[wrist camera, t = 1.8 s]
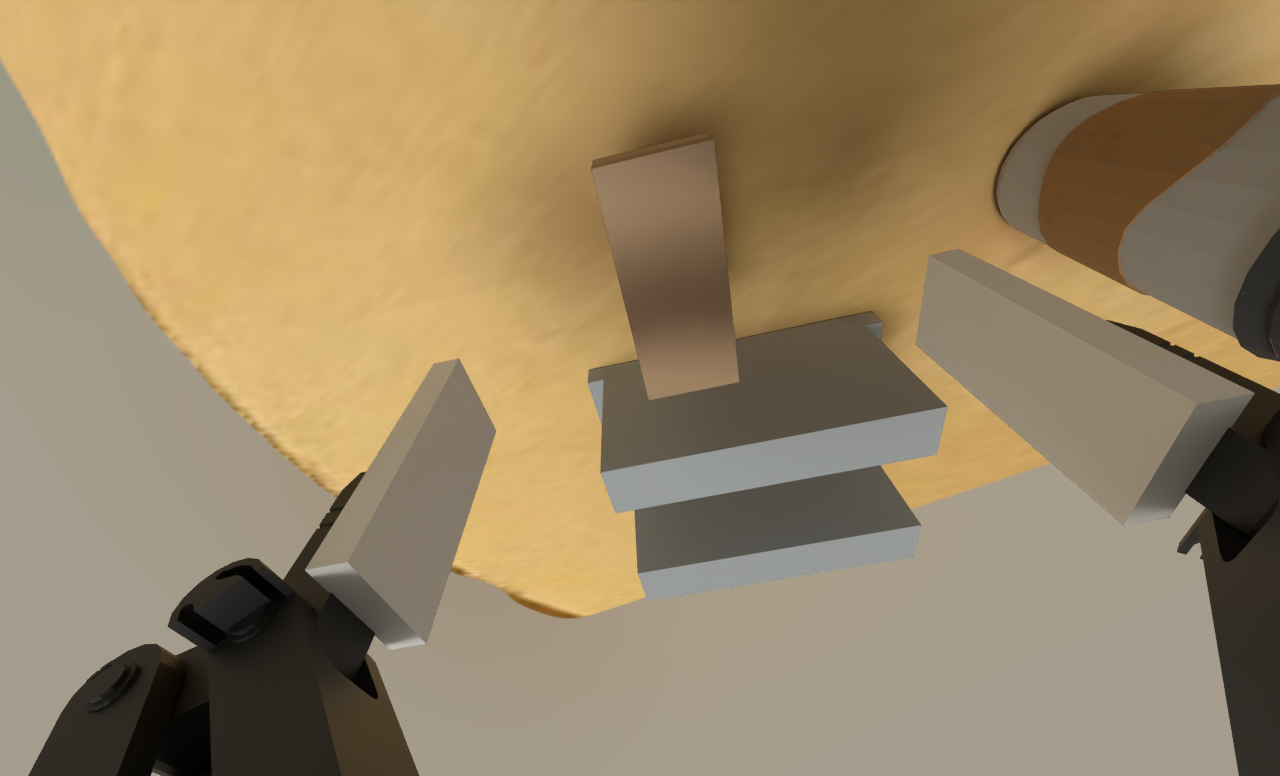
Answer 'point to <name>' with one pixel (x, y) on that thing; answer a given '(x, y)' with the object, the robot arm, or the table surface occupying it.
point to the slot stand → (769, 460)
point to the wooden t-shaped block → (671, 262)
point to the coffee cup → (1163, 199)
